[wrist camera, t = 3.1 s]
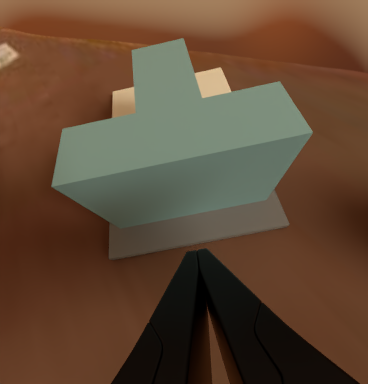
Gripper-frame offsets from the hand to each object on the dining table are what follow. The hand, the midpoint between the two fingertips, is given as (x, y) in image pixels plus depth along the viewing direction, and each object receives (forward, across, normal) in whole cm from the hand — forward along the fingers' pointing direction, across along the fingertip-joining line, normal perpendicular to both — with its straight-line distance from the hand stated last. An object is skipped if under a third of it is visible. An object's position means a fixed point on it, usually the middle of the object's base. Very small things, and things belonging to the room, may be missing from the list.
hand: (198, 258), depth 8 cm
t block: (+12, 0, -2) cm, 12 cm away
